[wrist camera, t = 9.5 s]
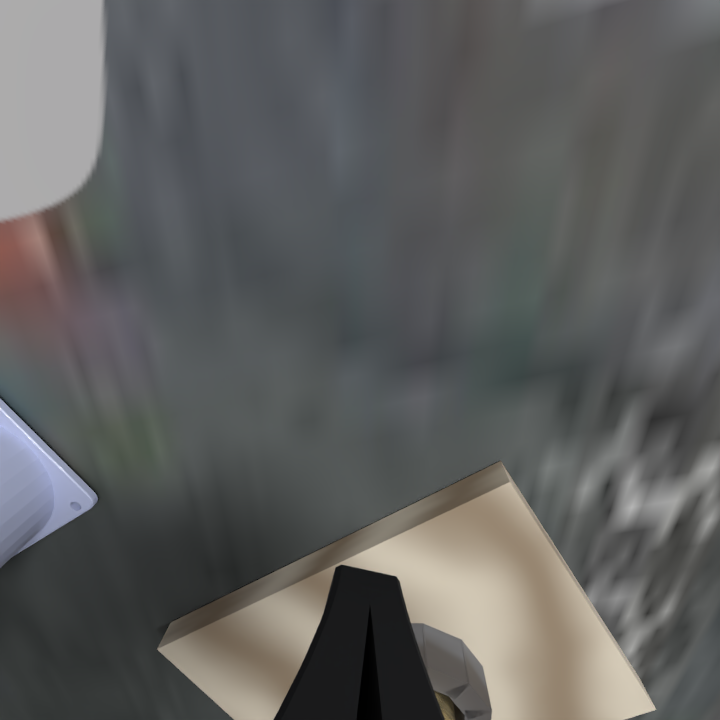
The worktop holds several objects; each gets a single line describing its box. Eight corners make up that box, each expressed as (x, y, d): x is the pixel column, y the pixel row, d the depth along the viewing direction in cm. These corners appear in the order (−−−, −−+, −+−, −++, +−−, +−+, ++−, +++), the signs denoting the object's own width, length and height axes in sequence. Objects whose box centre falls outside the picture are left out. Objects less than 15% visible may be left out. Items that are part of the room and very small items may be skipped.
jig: (335, 778, 28) (328, 855, 24) (170, 622, 23) (135, 690, 20) (639, 678, 23) (682, 758, 20) (500, 460, 19) (525, 515, 15)
